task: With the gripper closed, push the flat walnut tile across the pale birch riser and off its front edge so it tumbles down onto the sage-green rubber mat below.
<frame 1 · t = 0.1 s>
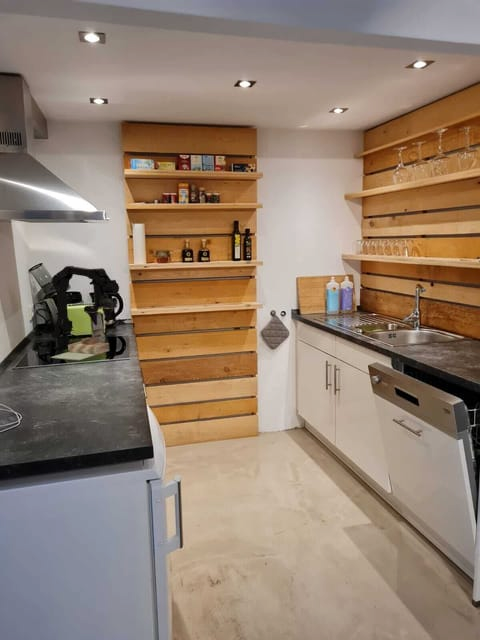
hand: (101, 323, 247), 14 cm above the cooktop, fingers open, 9 cm apart
sage mat: (73, 356, 239), on the cooktop
birch riser: (89, 351, 250), on the cooktop
walnut tile: (90, 343, 250), point 4 cm above the cooktop, touching birch riser
coffee box: (98, 341, 278), on the cooktop
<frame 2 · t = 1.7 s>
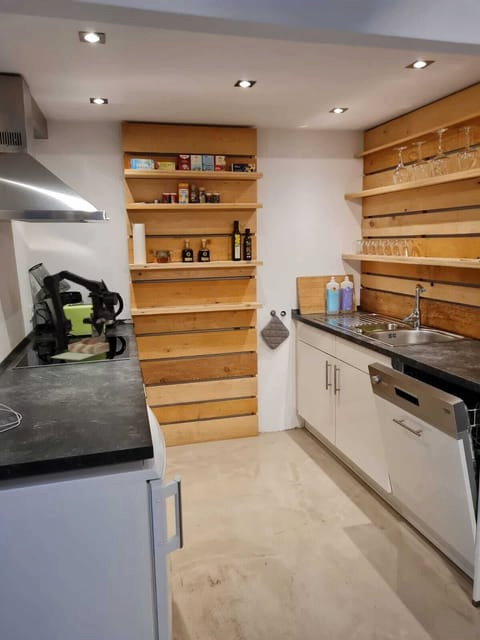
hand: (100, 334, 257), 7 cm above the cooktop, fingers closed
nothing on the cooktop moved.
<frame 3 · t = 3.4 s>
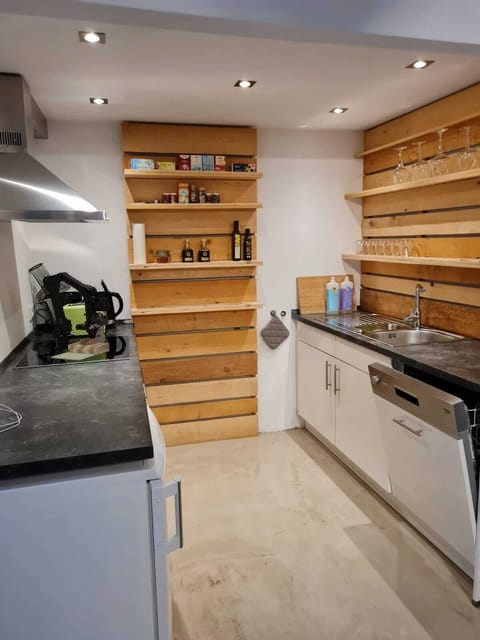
hand: (93, 340, 252), 5 cm above the cooktop, fingers closed
walnut tile: (88, 343, 249), point 4 cm above the cooktop, touching gripper
everything else where it was.
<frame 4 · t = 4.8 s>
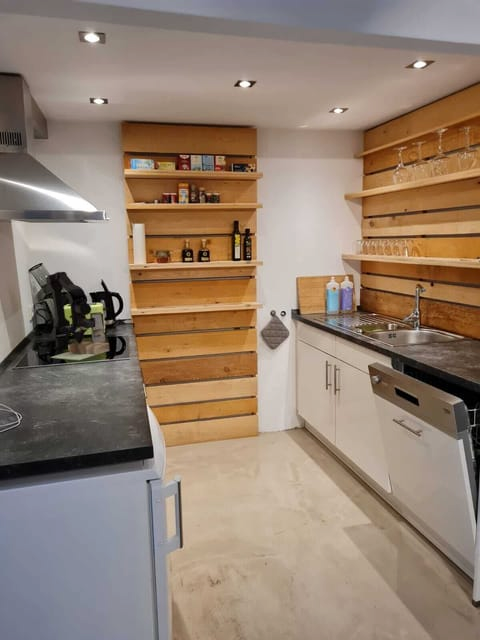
hand: (80, 343, 243), 5 cm above the cooktop, fingers closed
walnut tile: (79, 347, 244), point 3 cm above the cooktop, tilted 104°, touching sage mat
everything else where it was.
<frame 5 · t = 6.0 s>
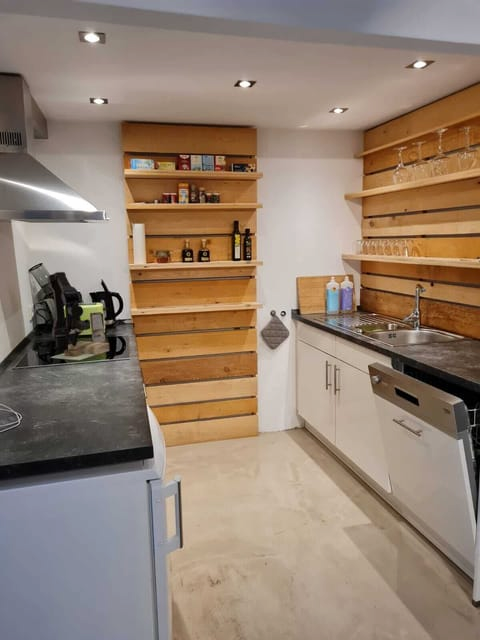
hand: (74, 346, 240), 5 cm above the cooktop, fingers closed
walnut tile: (73, 350, 240), point 3 cm above the cooktop, tilted 180°, touching sage mat
everything else where it was.
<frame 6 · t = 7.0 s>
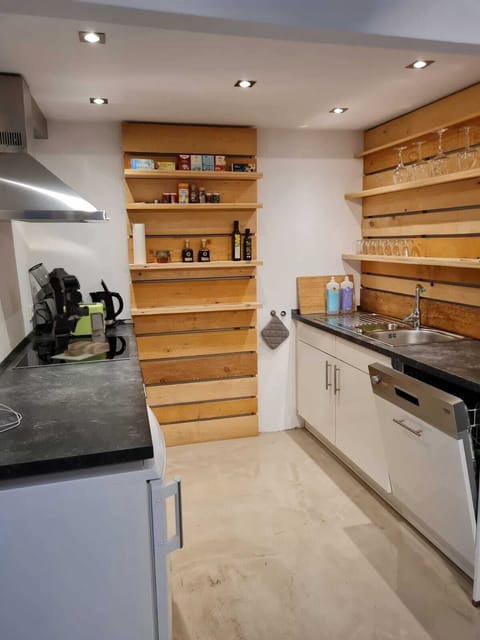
hand: (73, 332, 239), 12 cm above the cooktop, fingers closed
nothing on the cooktop moved.
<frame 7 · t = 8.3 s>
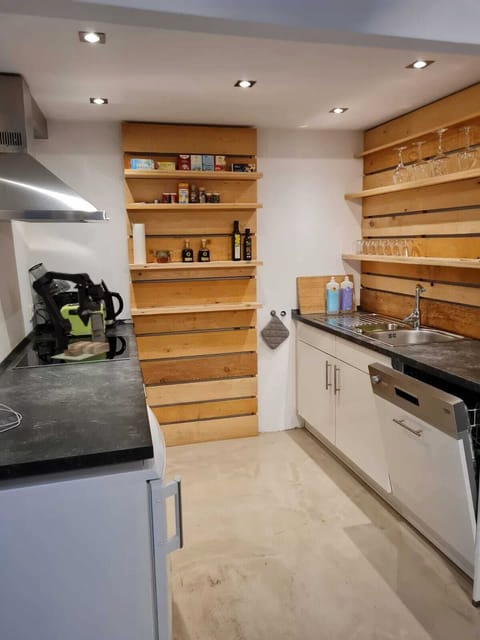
hand: (86, 326, 256), 12 cm above the cooktop, fingers closed
nothing on the cooktop moved.
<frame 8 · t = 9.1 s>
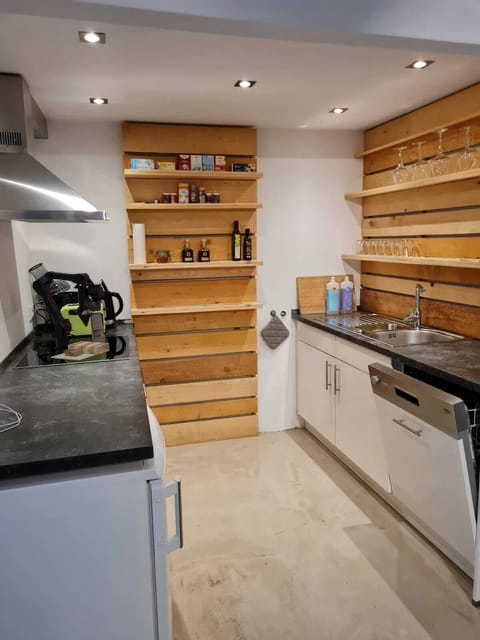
hand: (86, 326, 256), 12 cm above the cooktop, fingers closed
nothing on the cooktop moved.
at the end: walnut tile inside the target area (1.3 cm from its centre), point 2.9 cm above the cooktop; walnut tile touching sage mat; the gripper is holding nothing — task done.
